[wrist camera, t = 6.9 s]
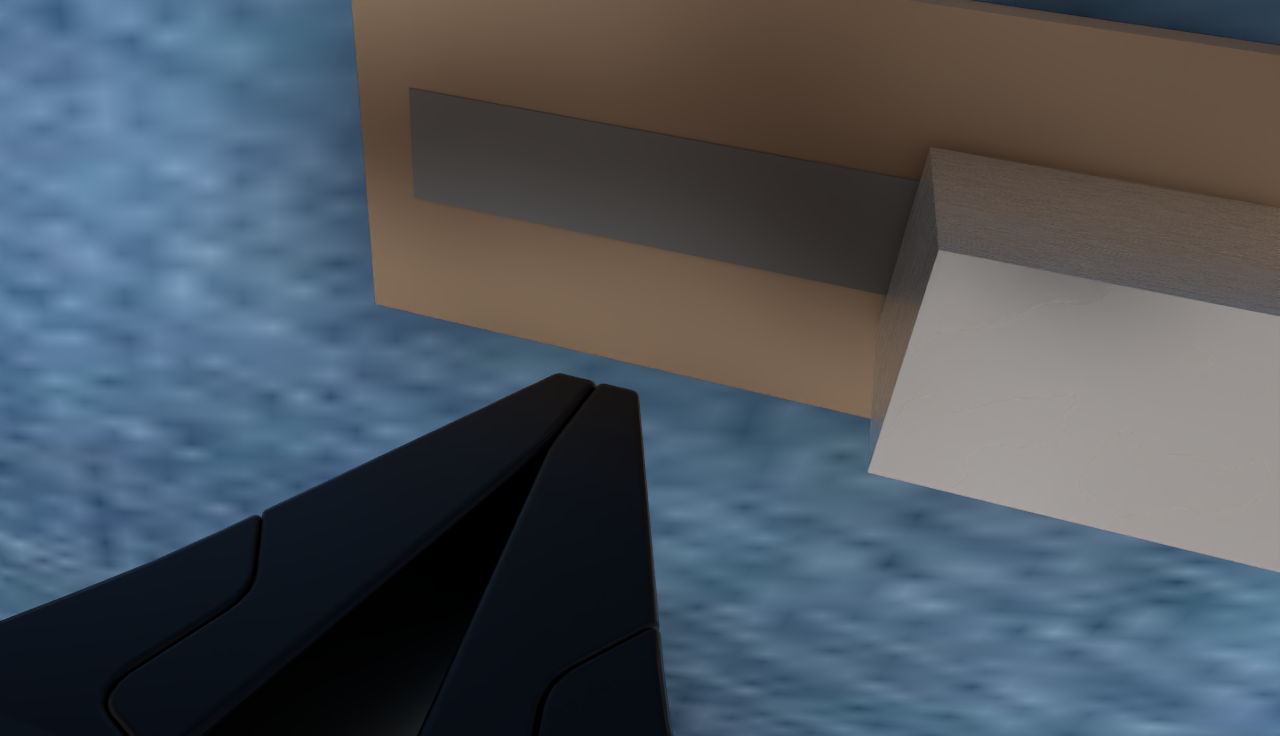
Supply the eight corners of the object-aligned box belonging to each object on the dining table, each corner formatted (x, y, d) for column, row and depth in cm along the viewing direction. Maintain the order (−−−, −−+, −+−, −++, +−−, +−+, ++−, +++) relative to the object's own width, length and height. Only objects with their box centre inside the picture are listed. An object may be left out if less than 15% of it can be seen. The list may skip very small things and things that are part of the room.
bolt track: (1263, 478, 15) (1285, 516, 14) (400, 283, 18) (374, 304, 17) (1523, 81, 11) (1573, 99, 10) (377, -87, 14) (343, -84, 13)
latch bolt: (1190, 397, 13) (1282, 573, 10) (876, 330, 14) (867, 472, 11) (1294, 211, 12) (1445, 349, 8) (929, 146, 13) (938, 250, 9)
